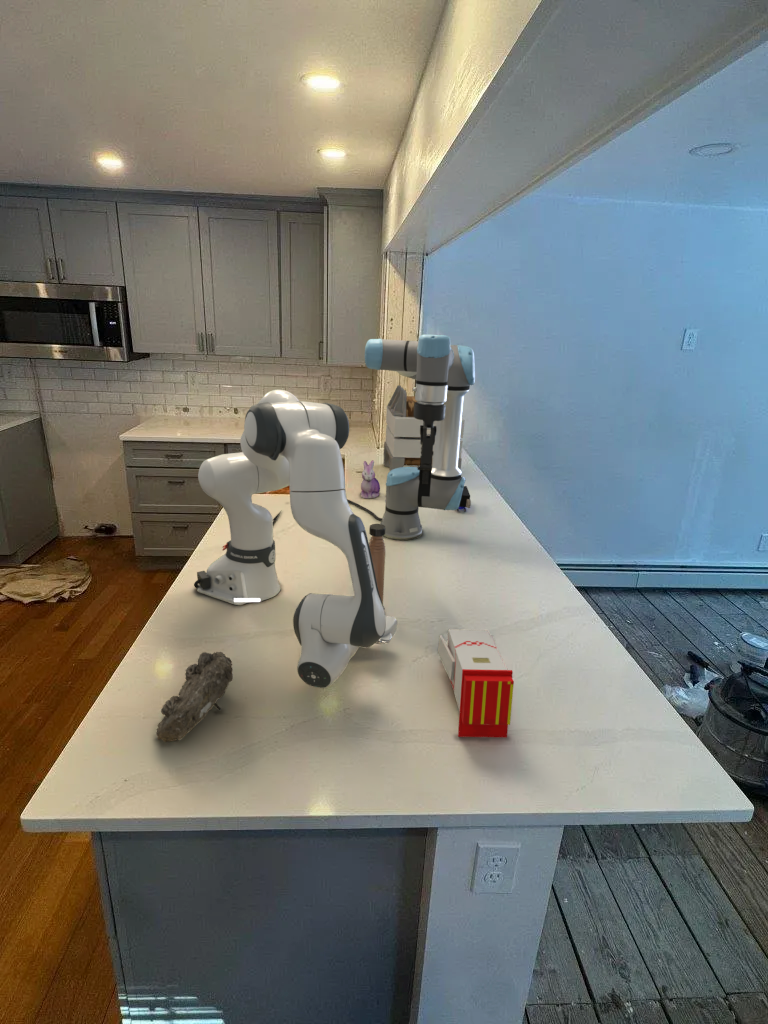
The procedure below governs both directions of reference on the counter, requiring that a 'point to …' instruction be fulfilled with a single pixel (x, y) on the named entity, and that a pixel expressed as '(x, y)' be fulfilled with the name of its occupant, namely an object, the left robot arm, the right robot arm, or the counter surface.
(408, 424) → the white slatted crate
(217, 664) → the fossil
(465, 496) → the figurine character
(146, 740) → the counter surface
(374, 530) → the cap
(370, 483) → the figurine
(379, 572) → the bottle
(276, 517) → the feather
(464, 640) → the toy
